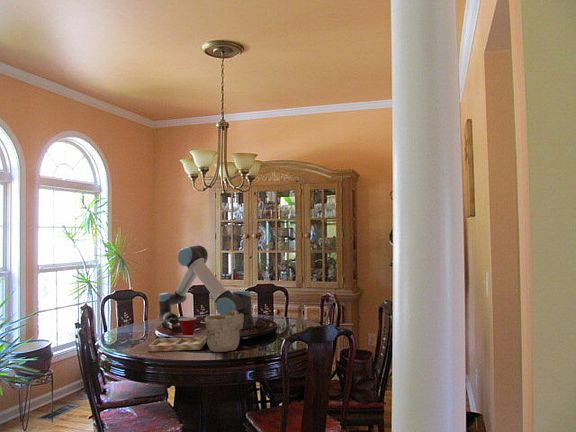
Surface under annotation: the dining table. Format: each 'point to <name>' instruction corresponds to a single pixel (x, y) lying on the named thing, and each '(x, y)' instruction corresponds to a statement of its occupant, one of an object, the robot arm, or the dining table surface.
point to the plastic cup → (187, 325)
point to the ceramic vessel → (224, 331)
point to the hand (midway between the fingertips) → (182, 324)
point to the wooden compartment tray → (177, 344)
